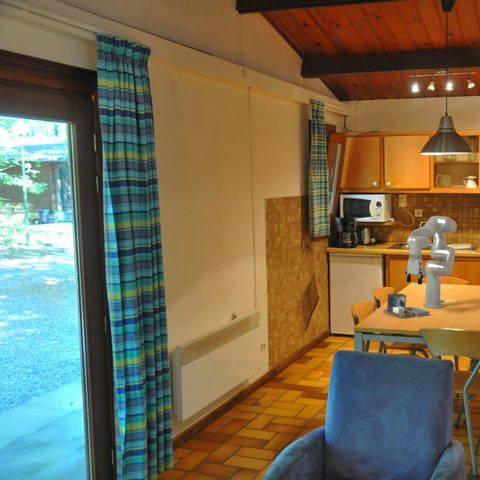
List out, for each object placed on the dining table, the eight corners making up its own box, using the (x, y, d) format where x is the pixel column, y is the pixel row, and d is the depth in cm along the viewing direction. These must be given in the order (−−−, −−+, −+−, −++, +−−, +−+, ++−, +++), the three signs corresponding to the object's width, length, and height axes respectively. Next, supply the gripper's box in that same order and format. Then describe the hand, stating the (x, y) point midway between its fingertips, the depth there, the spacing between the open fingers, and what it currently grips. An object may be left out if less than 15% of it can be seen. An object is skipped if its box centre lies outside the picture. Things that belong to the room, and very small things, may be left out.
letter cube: (398, 314, 452) (398, 306, 452) (404, 315, 448) (404, 307, 447) (392, 315, 450) (393, 307, 449) (398, 316, 445) (398, 308, 445)
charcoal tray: (411, 311, 463) (411, 307, 462) (429, 315, 450) (429, 311, 450) (399, 313, 457) (399, 308, 457) (416, 317, 444) (416, 312, 444)
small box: (390, 311, 463) (391, 295, 462) (386, 309, 469) (387, 293, 468) (405, 310, 465) (406, 295, 464) (401, 308, 471) (402, 293, 470)
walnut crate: (395, 312, 459) (395, 308, 458) (413, 317, 445) (414, 312, 445) (383, 314, 453) (383, 310, 452) (401, 319, 439) (401, 314, 439)
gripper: (429, 258, 444) (428, 284, 446) (409, 254, 459) (408, 280, 461) (421, 258, 440) (420, 285, 442) (401, 255, 455) (400, 281, 457)
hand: (414, 283), depth 451 cm, fingers open, 9 cm apart
